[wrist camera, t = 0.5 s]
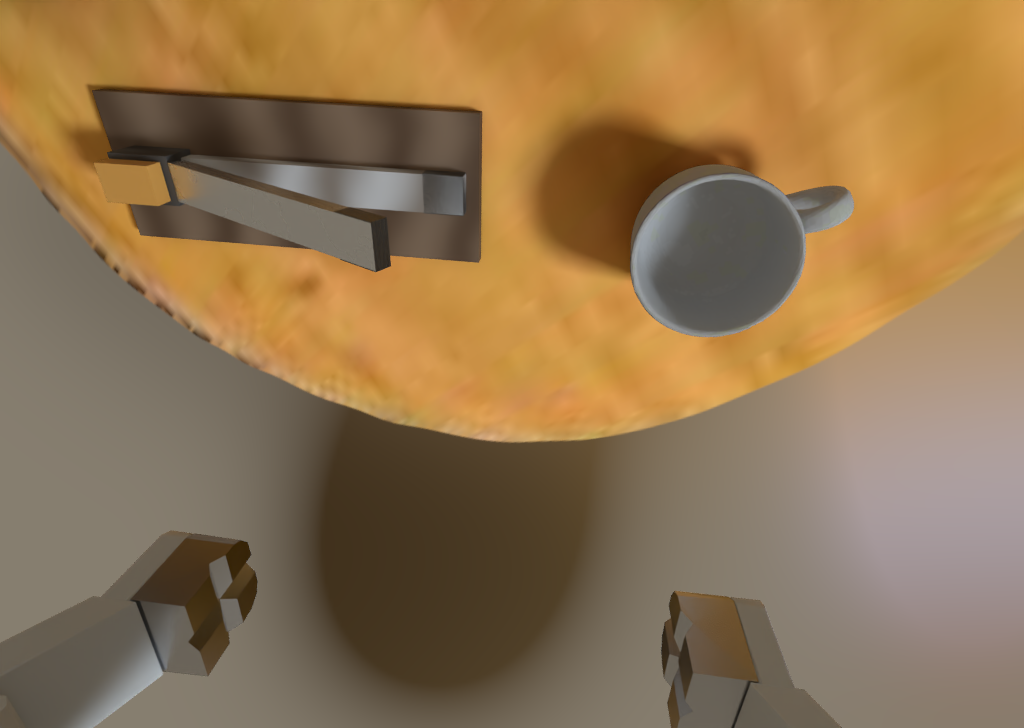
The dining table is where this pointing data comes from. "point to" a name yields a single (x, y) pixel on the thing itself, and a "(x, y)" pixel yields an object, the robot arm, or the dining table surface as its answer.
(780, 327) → the dining table surface
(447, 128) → the board
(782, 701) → the robot arm
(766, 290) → the teacup
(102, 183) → the tab
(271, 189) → the tongs arm
